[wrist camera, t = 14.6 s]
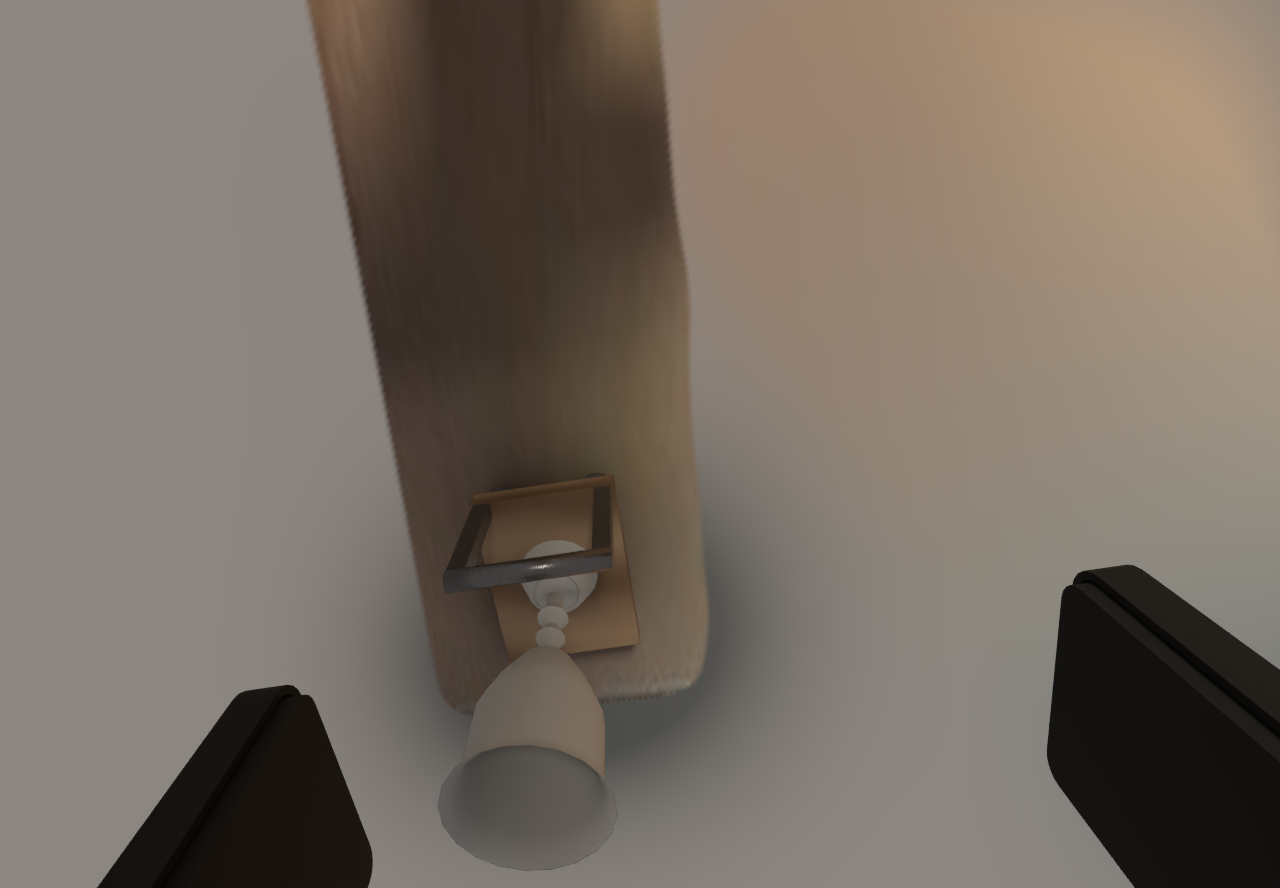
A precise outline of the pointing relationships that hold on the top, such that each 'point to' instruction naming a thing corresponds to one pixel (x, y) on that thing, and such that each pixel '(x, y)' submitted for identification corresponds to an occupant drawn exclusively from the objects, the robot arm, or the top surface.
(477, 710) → the chalice
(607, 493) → the cart
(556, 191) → the top surface
